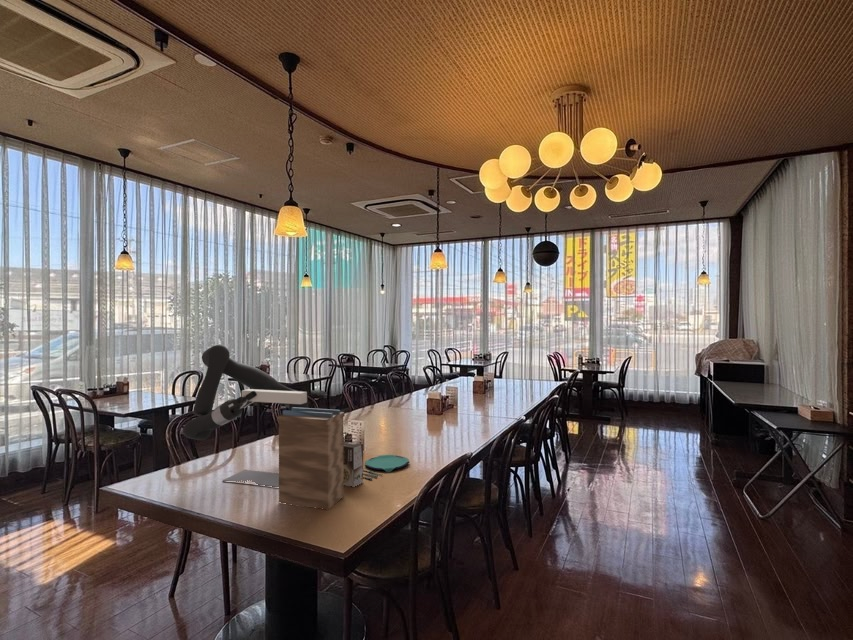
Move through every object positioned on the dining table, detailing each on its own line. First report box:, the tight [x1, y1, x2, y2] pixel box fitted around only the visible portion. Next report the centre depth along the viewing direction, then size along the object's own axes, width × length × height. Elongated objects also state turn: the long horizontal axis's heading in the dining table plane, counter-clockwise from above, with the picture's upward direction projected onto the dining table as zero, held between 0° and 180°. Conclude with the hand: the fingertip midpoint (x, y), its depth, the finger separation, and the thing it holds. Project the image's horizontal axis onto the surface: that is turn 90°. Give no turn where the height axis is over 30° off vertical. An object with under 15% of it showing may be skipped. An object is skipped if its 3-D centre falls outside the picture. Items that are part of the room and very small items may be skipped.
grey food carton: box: [343, 441, 364, 488], centre depth 184 cm, size 9×6×16 cm
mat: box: [222, 469, 279, 487], centre depth 188 cm, size 14×30×1 cm, turn 74°
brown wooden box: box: [276, 407, 346, 510], centre depth 166 cm, size 14×20×34 cm
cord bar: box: [241, 388, 308, 404], centre depth 171 cm, size 4×26×4 cm, turn 74°
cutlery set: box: [363, 454, 410, 481], centre depth 203 cm, size 20×30×2 cm, turn 144°
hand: (259, 392), depth 173 cm, fingers closed on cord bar, 4 cm apart
